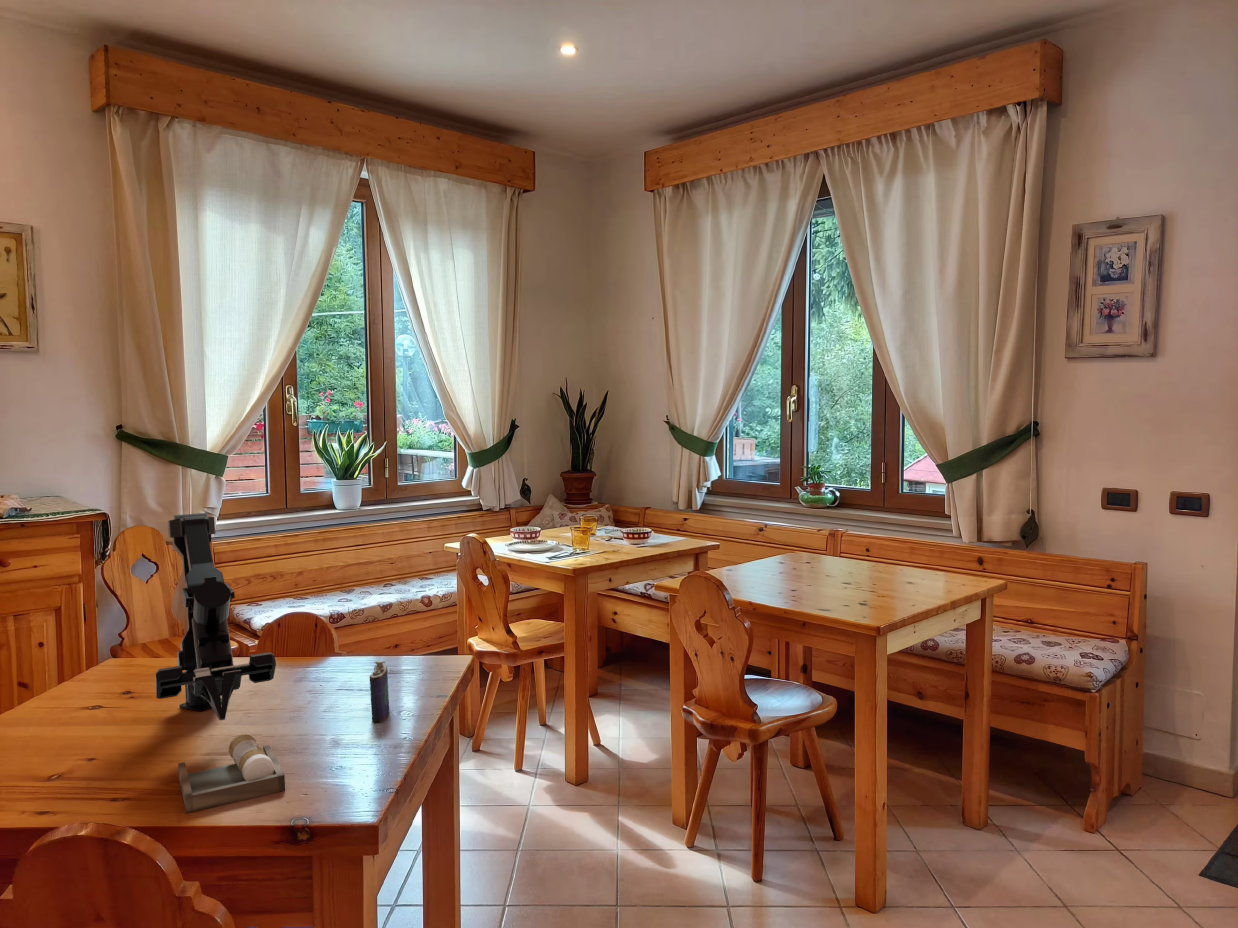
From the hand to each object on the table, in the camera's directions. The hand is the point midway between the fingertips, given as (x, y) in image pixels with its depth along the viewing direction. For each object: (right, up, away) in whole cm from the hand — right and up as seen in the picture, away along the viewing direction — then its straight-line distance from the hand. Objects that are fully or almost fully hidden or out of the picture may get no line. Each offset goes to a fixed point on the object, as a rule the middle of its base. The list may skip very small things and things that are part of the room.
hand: (222, 718), depth 145 cm
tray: (+4, -8, -7) cm, 12 cm away
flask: (+20, -6, +23) cm, 31 cm away
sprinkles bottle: (+2, -5, +2) cm, 6 cm away
